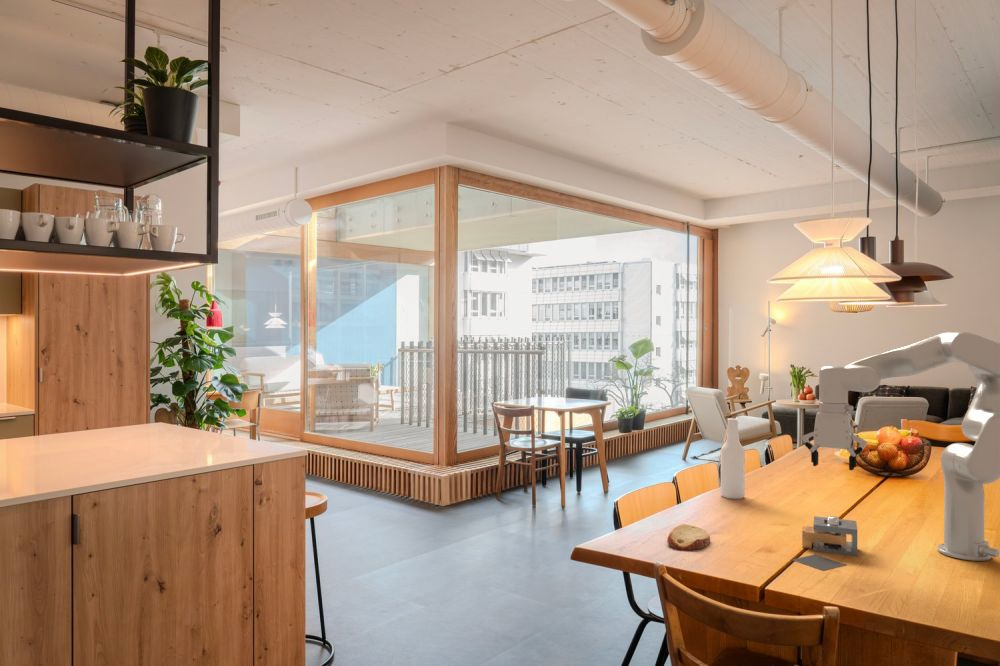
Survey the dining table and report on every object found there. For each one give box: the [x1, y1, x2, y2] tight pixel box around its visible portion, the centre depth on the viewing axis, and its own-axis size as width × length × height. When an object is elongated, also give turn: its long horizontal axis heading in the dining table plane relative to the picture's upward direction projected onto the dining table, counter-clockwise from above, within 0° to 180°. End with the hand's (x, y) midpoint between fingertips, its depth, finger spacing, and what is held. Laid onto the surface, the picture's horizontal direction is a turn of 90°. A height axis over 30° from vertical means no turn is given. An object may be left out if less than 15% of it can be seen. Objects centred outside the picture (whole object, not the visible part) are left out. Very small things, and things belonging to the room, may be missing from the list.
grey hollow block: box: [801, 515, 858, 558], centre depth 199 cm, size 14×10×8 cm
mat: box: [791, 554, 847, 572], centre depth 187 cm, size 10×10×1 cm
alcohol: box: [720, 417, 746, 500], centre depth 263 cm, size 9×9×30 cm
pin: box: [826, 515, 840, 548], centre depth 199 cm, size 3×3×10 cm
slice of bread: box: [667, 523, 711, 552], centre depth 208 cm, size 18×18×4 cm
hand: (833, 467), depth 199 cm, fingers open, 9 cm apart
